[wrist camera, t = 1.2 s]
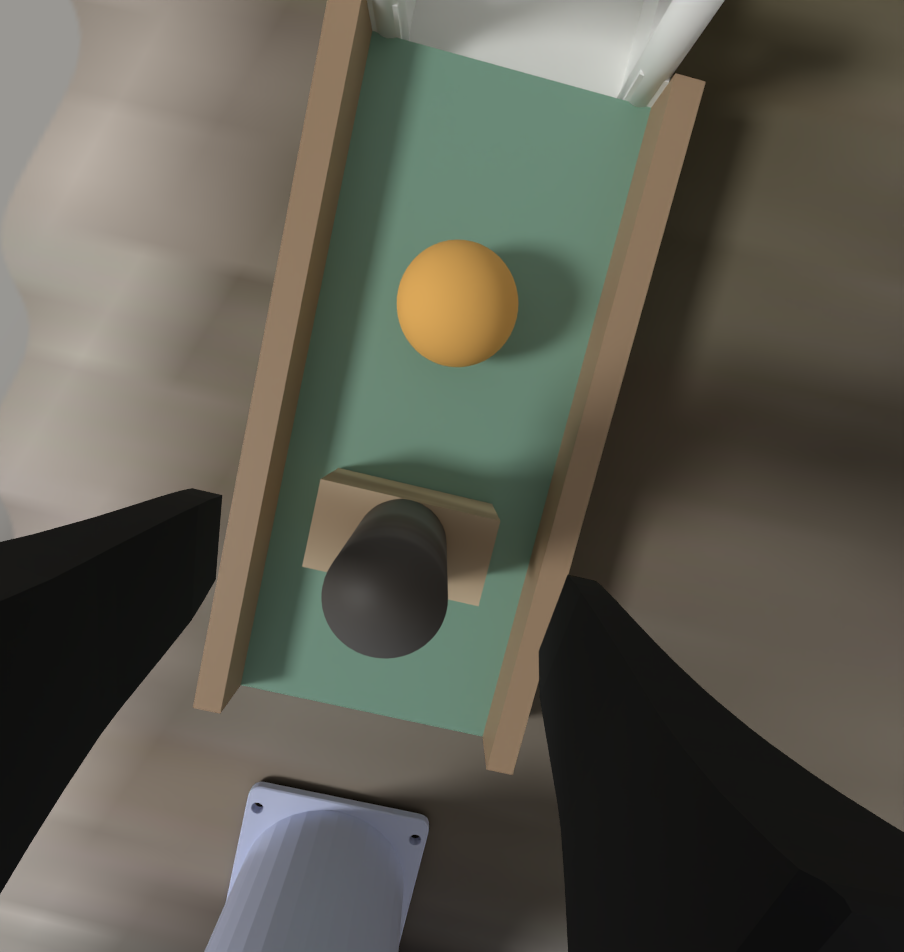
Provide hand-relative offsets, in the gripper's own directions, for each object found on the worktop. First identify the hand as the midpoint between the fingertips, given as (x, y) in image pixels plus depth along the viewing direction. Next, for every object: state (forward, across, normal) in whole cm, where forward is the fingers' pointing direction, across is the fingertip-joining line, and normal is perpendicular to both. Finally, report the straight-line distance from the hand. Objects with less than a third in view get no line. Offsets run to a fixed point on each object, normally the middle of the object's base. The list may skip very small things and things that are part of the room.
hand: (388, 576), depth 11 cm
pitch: (+13, 0, -4) cm, 13 cm away
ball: (+9, 0, -5) cm, 10 cm away
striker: (+9, 0, +3) cm, 10 cm away
